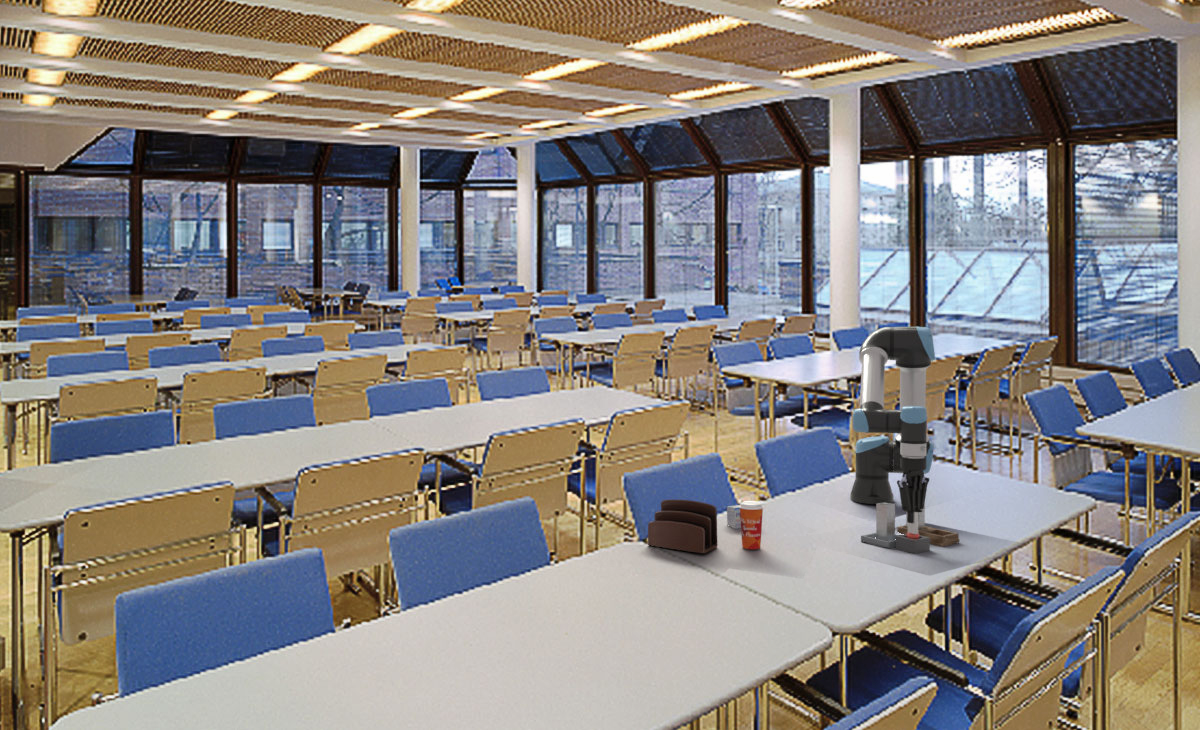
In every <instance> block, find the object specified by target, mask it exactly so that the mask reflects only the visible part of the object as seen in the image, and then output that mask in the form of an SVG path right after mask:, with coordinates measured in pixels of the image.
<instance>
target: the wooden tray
mask: <svg viewBox="0 0 1200 730" xmlns="http://www.w3.org/2000/svg"><path fill="white" fill-rule="evenodd" d="M896 531H897V532H899V533H901V534H907V533H908V528H906V524H905V525H900V526H897V527H896ZM897 532H896V533H897ZM918 534H919V535H921V536H925V537H930V545H932V544H933V546H938V547H942V548H943V547H947V546H951V545H955V544H954V543H956V544H958V543H957V542H961V541H960V539H959V537H960V536H959V533H957V532H953V531H948V530H945V529H940V528H934V527H930V526H926V525H925V529H922V530H918Z"/></svg>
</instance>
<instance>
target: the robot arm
mask: <svg viewBox="0 0 1200 730" xmlns="http://www.w3.org/2000/svg"><path fill="white" fill-rule="evenodd" d="M934 346H935V345H934V337H933V331H932V329H931V328H929V327H926V326H884V327H881V328H878V329H875V330H874V331H873V332H871V333H870V334H869V335H868V336H867V337H866V338H865V339H864V340H863V342H862V343H861V346H860V349H859V351H858V352H859V353H858V360H859V361H860V364H861V371H860V372H861V373H860V376H861V377H860V396H859V408H854V409H853V411H852V430H853V431H854V432H857V433H866V434H868V433H869V434H870V433H875V434H876V433H877V434H896V435H895V437H894V438H895V439H894V440H890V438H889V437H888V436H885V435H884V436H882V435H880V436H877V435H876V436H871V437H864V438H859V439H857V441H856V443H855V451H854V454H855V479H854V481H853V482H854V483H853V484H852V487H851V491H850V501H852V502H855V503H859V504H868V505H876V504H878V503H883V502H886V503H891V504H893V503H894V500H895V499H894V497H895V495H894V493H893V491H892V487H891V483H890V481H889V476H890V475H889V473H890V474H891V473H892V474H902V477H901V480H897V481H896V484H897V486H898V489H899V497H900V503H901V509H902V511H904V512H907V522H908V533H912V534H918V521H919V512H922V510H921V509H923V508H924V503H925V504H926V497H927V490H928V485H929V482H930V477H926V476H925V475H926V474H928V473H930V470H931V468H932V463H933V457H934V446H935V445H934V442H932V441H930V436H929V435H927V433H928V431H927V430H928V429H927V428H928V427H927V426H928V413H927V412H928V411H927V408H926V400H927V399H926V398H927V397H926V396H927V395H926V394H927V393H926V388H927V386H926V385H927V383H926V382H927V369H928V368H930V367H931V365H932V363H931V362H932V361H935V360H936V355H935V354H936V353H935V347H934ZM888 360H889V361H895V366H896V367H897V368H898V369H899V409H885V370H886V369H885V366H886V364H887V363H888ZM920 504H921V505H920Z"/></svg>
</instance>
